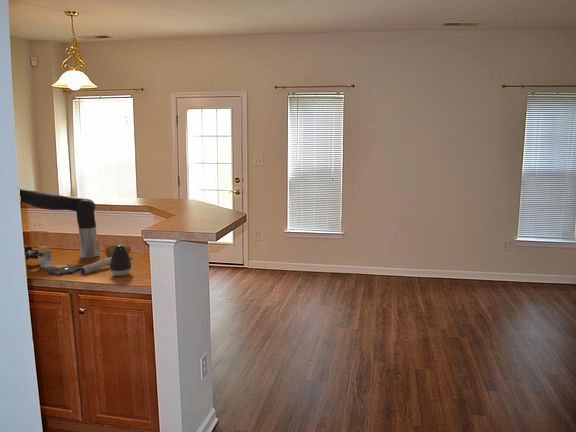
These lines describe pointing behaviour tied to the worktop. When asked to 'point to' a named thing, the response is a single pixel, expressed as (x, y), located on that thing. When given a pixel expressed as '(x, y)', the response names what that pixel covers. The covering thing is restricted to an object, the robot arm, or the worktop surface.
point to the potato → (112, 246)
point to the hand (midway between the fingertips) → (44, 254)
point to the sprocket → (63, 269)
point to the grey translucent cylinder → (44, 256)
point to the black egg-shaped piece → (120, 261)
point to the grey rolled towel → (94, 266)
